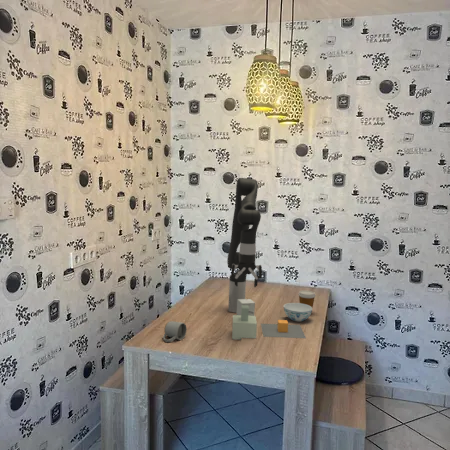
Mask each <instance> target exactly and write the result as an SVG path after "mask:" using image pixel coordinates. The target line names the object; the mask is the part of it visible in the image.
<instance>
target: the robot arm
mask: <svg viewBox="0 0 450 450" xmlns="http://www.w3.org/2000/svg"><path fill="white" fill-rule="evenodd" d="M258 186H259V183H258V180H256V179H253V178H249V177H248V178H247V177H238V179H237V180H236V186H235V200H234V202H235V203H234V211H233V217H232V224H231V236H230V244H229V248H228V254H227V261H226V262H227V267H228V268H229V269H230V270H231V274H230V275H229V285H228V286H229V287H228V308H227V309H228V310H227V312H230V313H231V312H232V313H234V314H235V313H236V314H237V299H246V290H247V289H246V286H247V285H246V284H247V277H248V276H247V275H252V276H253V278H254V280H253V281H254V282H253V287H254V288H257V287H258V282H259V281H258V280H259V279H262V276H263V273H262V272H263V268H262V265H261V264H259V265H256V250H257V248H256V247H257V246H256V244H257V243H256V241H257V232H258V228H259V225H260V222H261V218H262V216H261V211H259V210H258V209H257V197H258V190H259V187H258ZM243 196H244V197H243ZM242 197H243V198H242ZM250 226H251V228H250ZM238 248H239V251H238ZM256 269H257V271H258V275H257V274H256V272H255V270H256ZM235 270H236V272H235Z"/></svg>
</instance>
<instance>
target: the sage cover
mask: <svg viewBox="0 0 450 450" xmlns="http://www.w3.org/2000/svg"><path fill="white" fill-rule="evenodd" d="M248 312H249V307H248V305H242V307H241V315H237V314H233V315H232V325H231V327H232V331H231V333H232V335H231V339H232V340H241V341H242V339H256V338H257V328H258V327H257V326H258V321H257V317H256V315H254V316H248Z"/></svg>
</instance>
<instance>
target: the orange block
mask: <svg viewBox="0 0 450 450" xmlns="http://www.w3.org/2000/svg"><path fill="white" fill-rule="evenodd" d="M277 324H278V326H277V329H278V332H288V325H289V322H288V320H287V319H286V320H285V319H277Z"/></svg>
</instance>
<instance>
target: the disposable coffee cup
mask: <svg viewBox="0 0 450 450" xmlns="http://www.w3.org/2000/svg"><path fill="white" fill-rule="evenodd" d="M298 297H299V298H298V300H299V302H298V303H302V304H306V305H309V306H311V307H312V309H313V307H314V302H315V297H316V292H315V291H311V290H307V289H306V290H303V289H302V290H299V291H298ZM312 312H313V311H312ZM312 312H311V314H310V316H312V314H313V313H312Z"/></svg>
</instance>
